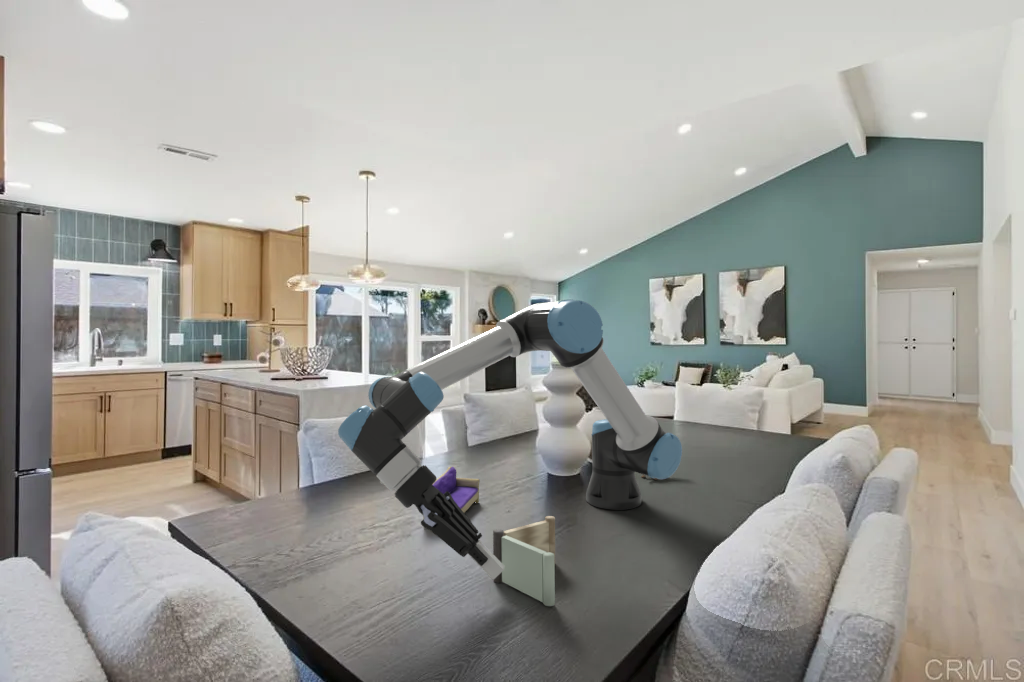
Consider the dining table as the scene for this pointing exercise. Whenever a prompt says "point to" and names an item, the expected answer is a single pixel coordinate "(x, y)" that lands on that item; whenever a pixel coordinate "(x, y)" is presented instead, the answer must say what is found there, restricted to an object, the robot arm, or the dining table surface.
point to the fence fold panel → (529, 570)
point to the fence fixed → (527, 538)
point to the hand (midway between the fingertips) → (498, 573)
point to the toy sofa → (458, 488)
